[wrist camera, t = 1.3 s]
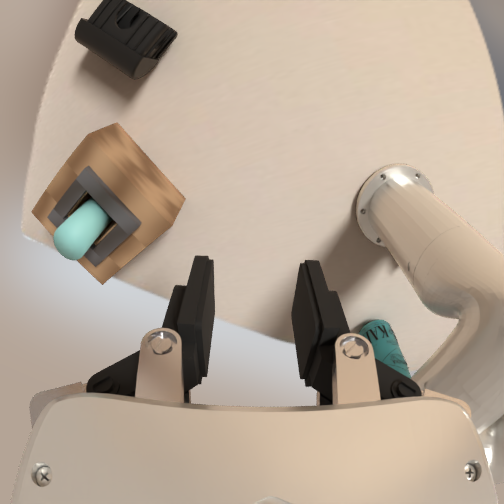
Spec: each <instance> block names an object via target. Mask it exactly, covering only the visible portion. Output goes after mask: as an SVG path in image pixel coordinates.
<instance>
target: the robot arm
mask: <svg viewBox="0 0 504 504" xmlns="http://www.w3.org/2000/svg"><path fill="white" fill-rule="evenodd" d="M381 175H382V176H381ZM380 176H381V177H380ZM361 209H362V210H361ZM356 217H357V222H358V224H359V227H360V229H361V230H362V232H363V233H364V235H365V236H366V237H367V238H368V239H369V240H370V241H372V242H373V243H375V244H377V245H380V246H384V247H387V249H388V250H389V252H390V253H391V255H392V256H393V258H394V259H395V261H396V262H397V264H398V265H399V267H400V268H401V270H402V271H403V273H404V274H405V276H406V277H407V279H408V281H409V282H410V284H411V285H412V287H413V288H414V290H415V292H416V293H417V295H418V297H419V298H420V300H421V301H422V303H423V304H424V305H425V306H426V307H427V309H429V310H430V311H431V312H433V313H434V314H436V315H439V316H442V317H445V318H451V319H459V322H458V324H457V326H456V327H455V328H454V330H453V331H452V332H451V334H450V335H449V336H448V337H447V339H446V340H445V342H444V343H443V344H442V345H441V346H440V347H439V348H438V349H437V351H436V352H435V353H434V354H433V355H432V356H431V357H430V358H429V359H428V360H427V361H426V362H425V363H424V364H423V366H422V367H421V368H420V369H419V370H418V371H417V372H416V373H415V374H414V375H413V376H412V377H411V378H408V377H407V376H405V375H403V374H401V373H400V372H398V371H396V370H395V369H393V368H391V367H390V366H388V365H386V364H384V363H383V362H381V361H379V360H378V359H376V358H374V352H373V347H372V345H371V343H370V342H369V341H368V340H367V339H366V338H365V337H363V336H361V335H359V334H354V333H350V330H349V327H348V324H347V321H346V318H345V315H344V312H343V309H342V306H341V303H340V300H339V297H338V294H337V292H336V291H328V288H327V284H326V281H325V278H324V275H323V272H322V269H321V266H320V263H319V261H317V260H305V262H304V263H300V266H299V272H298V278H297V284H296V290H295V296H294V302H293V307H292V324H293V331H294V338H295V345H296V352H297V359H298V367H299V374H300V379H305V386H306V387H309V386H312V387H313V388H314V389H315V390H317V406H301V407H240V406H217V405H202V404H191V392H190V389H192V388H193V387H195V386H196V385H198V384H201V381H202V377H207V372H208V364H209V355H210V347H211V338H212V331H213V323H214V315H215V299H214V262H213V260H209V257H208V256H195V258H194V261H193V265H192V269H191V272H190V276H189V279H188V283H187V286H182V285H175V287H174V289H173V293H172V296H171V299H170V302H169V306H168V309H167V312H166V315H165V319H164V322H163V326H162V328H157V329H154V330H151V331H149V332H148V333H147V334H146V335H145V336H144V337H143V339H142V342H141V348H140V350H139V351H137V352H136V353H134V354H132V355H130V356H128V357H126V358H124V359H122V360H121V361H119V362H117V363H115V364H113V365H111V366H109V367H107V368H105V369H103V370H101V371H100V372H98V373H96V374H94V375H93V376H92V377H91V378H90V379H89V381H88V383H85V384H82V383H81V382H78V383H75V384H70V385H66V386H63V387H59V388H55V389H51V390H47V391H43V392H40V393H37V394H36V395H35V396H34V397H33V398H32V400H31V402H30V415H31V423H32V431H31V433H30V436H29V438H28V441H27V444H26V447H25V449H24V452H23V455H22V459H21V462H20V466H19V469H18V473H17V477H16V481H15V485H14V489H13V493H12V498H11V504H499V503H498V498H497V493H496V488H495V484H500V483H504V255H503V254H502V253H501V252H500V251H499V250H497V249H496V248H495V247H494V246H493V245H492V244H491V243H490V242H489V241H488V240H486V239H485V238H484V237H483V236H482V235H481V234H480V233H479V232H478V231H477V230H475V229H474V228H473V227H472V226H471V225H470V224H469V223H468V222H466V221H465V220H464V219H463V218H462V217H461V216H460V215H458V214H457V213H456V212H455V211H454V210H452V209H451V208H450V207H449V206H448V205H446V204H445V203H444V202H443V201H441V200H440V199H439V198H438V197H436V196H435V195H434V191H433V188H432V185H431V183H430V181H429V179H428V178H427V177H426V176H425V174H423V173H422V172H421V171H419V170H418V169H416V168H415V167H413V166H410V165H407V164H393V165H389V166H386V167H383V168H382V169H380V170H378V171H376V172H375V173H374V174H373V175H372V176H371V177H370V178H369V179H368V180H367V181H366V182H365V184H364V185H363V187H362V189H361V191H360V193H359V196H358V199H357V204H356Z"/></svg>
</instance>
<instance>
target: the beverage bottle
mask: <svg viewBox="0 0 504 504" xmlns="http://www.w3.org/2000/svg"><path fill="white" fill-rule="evenodd" d="M393 333H394V332H393V329H391V327H390V325H389V323H387V322H386V321H384V320H375V321H372V322H370V323H368V324H366V325H365V326H364V327H363V328H362V329H361V331H360V333H359V335H361V336H363V337H365V338H366V339H367V340H368V341H369V342H370V343H371V345H372V347H373V352H374V358H376V359H378V360H379V361H381V362H383V363H384V364H386V365H388V366H390V367H391V368H393V369H395V370H396V371H398V372H400V373H401V374H403V375H405V376H407V377H408V378H411V376H410V373H409V370H408V368H409V367H407V366H408V365H407V363H406V360H404V358H405V357H404V358H403V355H402V353H401V350H400V348H399V345H398V342H397V339H396V336H395V334H393Z"/></svg>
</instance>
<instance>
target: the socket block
mask: <svg viewBox="0 0 504 504" xmlns="http://www.w3.org/2000/svg"><path fill="white" fill-rule="evenodd" d="M91 197H93V198H94V200H95V201H96V202H97V203H98V204H99V205H100V206H101V207H102V208H103V209H104V210H105V211H106V212H107V213H108V214H109V216H110V217H111V218H112V221H111V222H110V223H109V224H108V225H107V227H106V228H105V229H104V230H103V231H102V233H101V234H100V235H99V236H98V237H97V239H96V240H95V241H94V242H93V244H92V245H91V246H90V247H89V249H88V250H87V251H86V253H85V254H84V255H83V256H82V258H80V259H78V260H77V261H78V262H79V263H80V264H81V265H82V266H83V267H84V268H85V269H86V270H87V271H88V272H89V273H90V274H91V275H92V276H93V277H95V278H96V279H97V280H98V281H99V282H100V283H101V284H102V285H103V284H104V283H105V282H106V281H107V280H108V279H110V278H111V277H112V276H113V275H114V274H115V273H116V272H118V271H119V270H120V269H121V268H122V267H123V266H124V265H126V264H127V263H128V262H129V261H130V260H131V259H133V258H134V257H135V256H136V255H137V254H139V253H140V252H141V251H142V250H143V249H145V248H146V247H147V246H148V245H149V244H151V243H152V242H153V241H154V240H155V239H157V238H158V237H159V236H160V235H161V234H163V233H164V232H165V231H166V230H168V229H169V228H170V227H171V226H172V225H173V223H174V221H175V219H176V217H177V215H178V213H179V211H180V209H181V207H182V205H183V203H184V201H185V197H184V196H183V195H182V194H181V193H180V192H179V191H178V190H177V189H176V187H175V186H174V185H173V184H172V183H171V182H170V181H169V180H168V179H167V178H166V176H165V175H164V174H163V173H162V172H161V171H160V170H159V169H158V168H157V166H156V165H155V164H154V163H153V162H152V161H151V160H150V159H149V157H148V156H147V155H146V154H145V153H144V152H143V151H142V150H141V149H140V147H139V146H138V145H137V144H136V143H135V142H134V141H133V140H132V138H131V137H130V136H129V135H128V134H127V133H126V132H125V131H124V129H123V128H122V127H121V126H120V125H119V124H118V123H114V124H112V125H109V126H107V127H104V128H102V129H99V130H97V131H94V132H92V133H90V134H88V135H87V136H86V137H85V138H84V140H83V141H82V142H81V143H80V145H79V146H78V147H77V148H76V149H75V151H74V152H73V153H72V155H71V156H70V157H69V158H68V160H67V161H66V162H65V164H64V165H63V166H62V168H61V169H60V170H59V172H58V173H57V175H56V176H55V177H54V179H53V180H52V182H51V183H50V184H49V186H48V187H47V189H46V190H45V192H44V193H43V195H42V196H41V198H40V199H39V201H38V202H37V204H36V205H35V207H34V209H33V210H32V213H33V214H34V216H35V217H36V218H37V219H38V220H39V221H40V222H41V223H42V225H43V226H44V227H45V228H46V229H47V230H48V231H49V232H50V233H51V234H52V235H53V236H54V233H55V231H56V229H57V228H58V227H59V226H60V225H61V224H62V223H64V222H65V221H66V220H67V219H68V218H69V217H70V216H71V215H72V214H73V213H74V212H75V211H76V210H77V209H78V208H80V207H81V206H82V205H83V204H84V203H85V202H86V201H87V200H88V199H90V198H91Z"/></svg>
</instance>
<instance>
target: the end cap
mask: <svg viewBox="0 0 504 504" xmlns="http://www.w3.org/2000/svg"><path fill="white" fill-rule="evenodd" d="M176 37H177V32H176V31H175V30H173V29H172V28H170V27H169V26H167V25H166V24H164V23H163V22H161V21H160V20H158V19H156V18H155V17H153V16H151V15H150V14H148V13H147V12H145V11H143V10H142V9H140V8H138V7H136V6H135V5H133V4H131V3H129V2H128V1H126V0H103V1H102V2H101V4H100V5H99V6H98V8H97V9H96V10H95V11H94V13H93V14H92V15H91V17H90V18H89V20H87V19H83V18H81V20H80V21H79V23H78V25H77V27H76V30H75V39H76V41H77V42H78V43H80V44H82V45H83V46H85V47H86V48H88V49H89V50H91V51H92V52H94V53H95V54H97V55H98V56H100V57H101V58H103V59H104V60H106V61H107V62H109V63H110V64H112V65H113V66H115V67H116V68H118V69H119V70H120V71H122V72H123V73H125V74H126V75H128V76H129V77H130V78H132V79H139V78H141V77H142V76H144V75H145V74H146V73H148V72H149V71H150V70H151V69H152V68H153V67H154V66H155V65H156V64H157V62H158V61H159V59H158V58H159V57H160V56H161V55H162V53H163V52H164V51H165V50H166V49H167V48H168V46H169V45H170V44H171V43H172V42H173V41H174V39H175V38H176Z"/></svg>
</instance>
